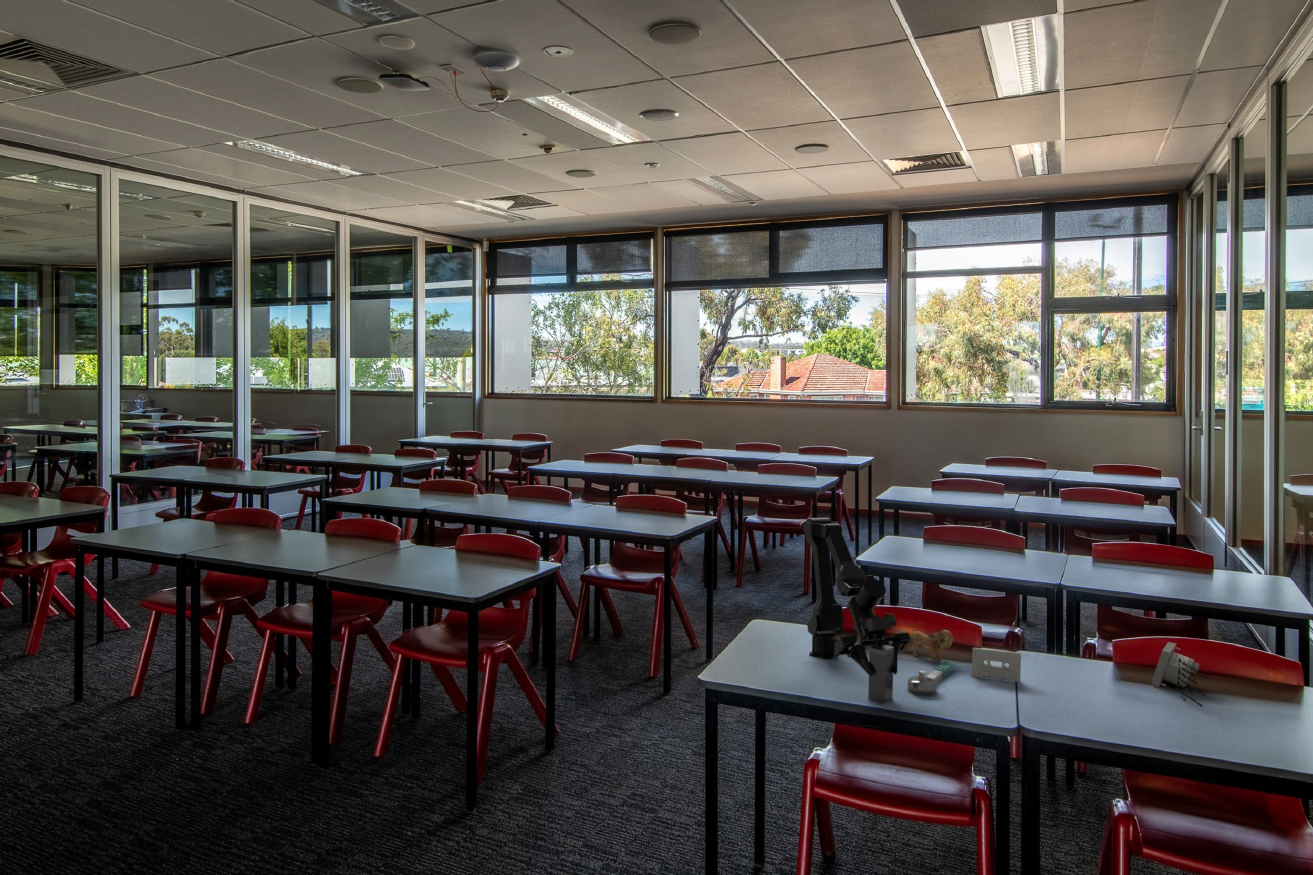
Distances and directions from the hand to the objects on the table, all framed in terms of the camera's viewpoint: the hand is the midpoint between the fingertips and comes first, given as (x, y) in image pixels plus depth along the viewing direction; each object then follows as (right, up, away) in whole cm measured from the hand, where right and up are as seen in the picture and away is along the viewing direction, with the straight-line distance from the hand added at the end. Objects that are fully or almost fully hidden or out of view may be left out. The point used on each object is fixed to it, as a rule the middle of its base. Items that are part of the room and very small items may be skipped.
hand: (883, 674), depth 204 cm
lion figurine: (+22, -5, +33) cm, 40 cm away
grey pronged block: (+77, -7, +7) cm, 78 cm away
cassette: (+34, -6, +17) cm, 39 cm away
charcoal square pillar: (0, -6, +2) cm, 7 cm away
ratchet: (+17, -6, +14) cm, 23 cm away
